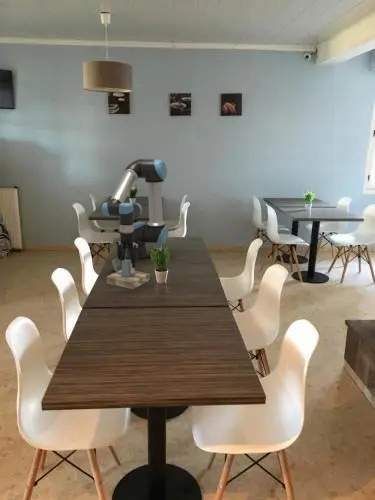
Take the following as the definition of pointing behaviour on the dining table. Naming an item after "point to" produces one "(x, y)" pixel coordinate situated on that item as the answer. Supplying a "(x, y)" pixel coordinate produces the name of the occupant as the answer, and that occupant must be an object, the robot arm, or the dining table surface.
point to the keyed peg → (126, 269)
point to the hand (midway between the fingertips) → (128, 272)
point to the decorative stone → (117, 264)
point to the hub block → (128, 279)
